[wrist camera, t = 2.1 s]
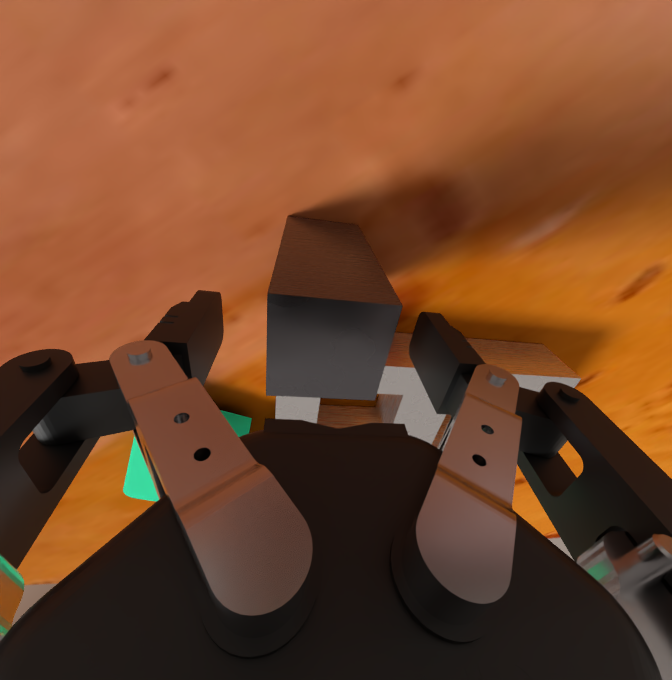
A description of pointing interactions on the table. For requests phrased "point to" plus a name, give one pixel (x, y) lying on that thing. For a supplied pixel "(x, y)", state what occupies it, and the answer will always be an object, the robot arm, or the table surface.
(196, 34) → the table surface
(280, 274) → the peg
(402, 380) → the rail
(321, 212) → the table surface
